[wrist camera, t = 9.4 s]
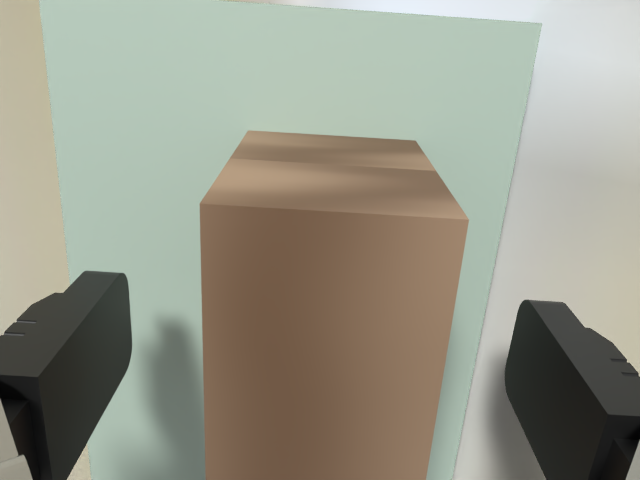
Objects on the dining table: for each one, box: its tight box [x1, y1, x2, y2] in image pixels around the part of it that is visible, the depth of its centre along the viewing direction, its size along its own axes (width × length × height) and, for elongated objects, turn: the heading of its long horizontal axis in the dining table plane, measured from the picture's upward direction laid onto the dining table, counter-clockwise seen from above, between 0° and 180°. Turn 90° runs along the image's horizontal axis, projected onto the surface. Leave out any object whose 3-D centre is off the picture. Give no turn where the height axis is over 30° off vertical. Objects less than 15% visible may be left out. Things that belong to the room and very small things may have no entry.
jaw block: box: [200, 130, 469, 480], centre depth 11 cm, size 4×7×5 cm, turn 177°
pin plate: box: [39, 0, 542, 480], centre depth 13 cm, size 10×14×3 cm
